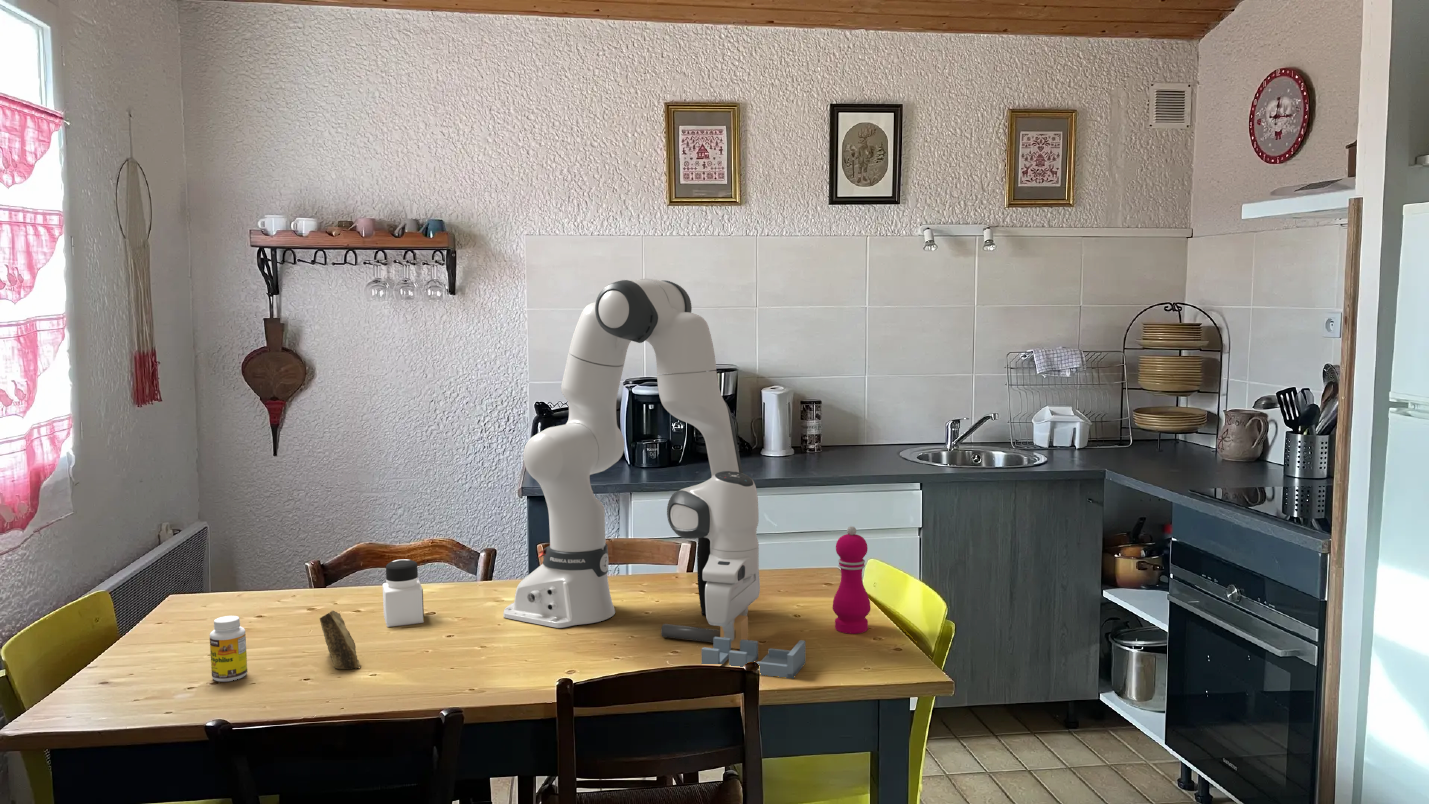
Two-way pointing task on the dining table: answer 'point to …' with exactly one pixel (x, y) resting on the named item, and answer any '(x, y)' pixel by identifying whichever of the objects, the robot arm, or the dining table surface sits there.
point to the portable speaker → (702, 560)
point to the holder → (783, 661)
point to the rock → (339, 641)
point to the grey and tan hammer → (707, 632)
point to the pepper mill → (851, 585)
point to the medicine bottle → (402, 594)
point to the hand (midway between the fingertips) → (734, 635)
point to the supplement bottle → (228, 649)
